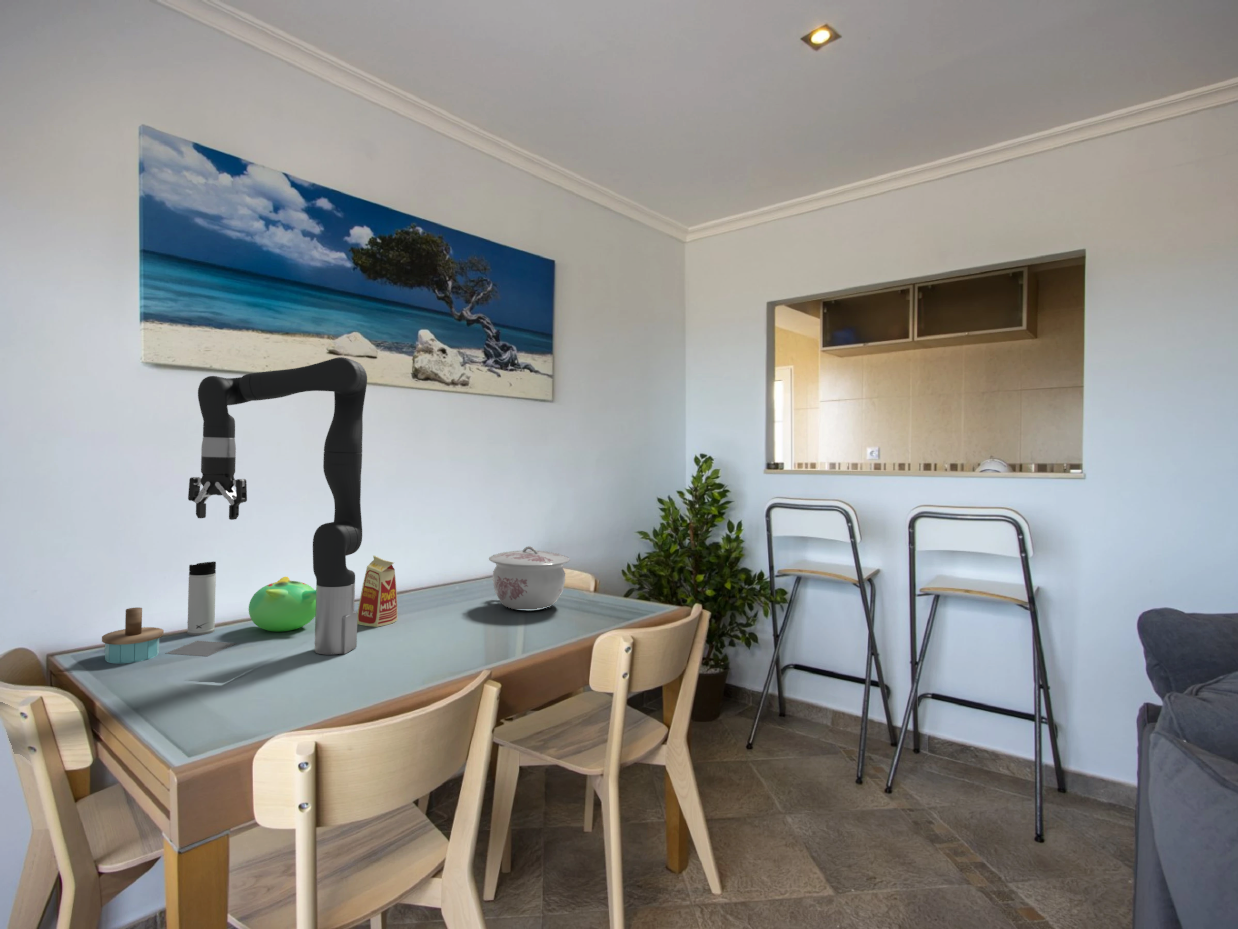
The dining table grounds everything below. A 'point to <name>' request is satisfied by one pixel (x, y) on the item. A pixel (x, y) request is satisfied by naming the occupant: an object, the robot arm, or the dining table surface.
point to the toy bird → (283, 605)
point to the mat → (201, 648)
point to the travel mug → (201, 598)
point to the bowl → (131, 652)
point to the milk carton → (378, 595)
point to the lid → (133, 630)
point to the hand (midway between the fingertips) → (217, 518)
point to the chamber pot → (528, 578)
